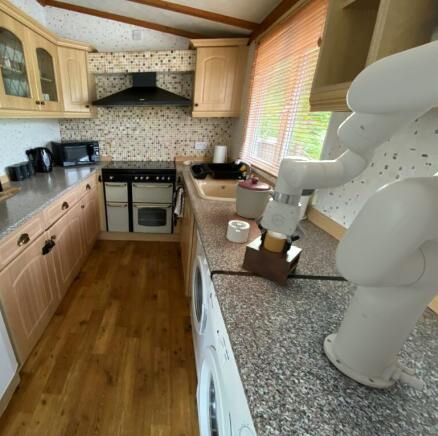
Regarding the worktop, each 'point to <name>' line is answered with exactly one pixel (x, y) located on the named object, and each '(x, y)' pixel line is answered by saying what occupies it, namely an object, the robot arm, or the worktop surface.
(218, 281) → the worktop surface
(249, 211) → the canister
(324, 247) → the worktop surface
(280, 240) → the tape roll
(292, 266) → the brown square pedestal
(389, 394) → the worktop surface
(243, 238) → the white slotted cylinder
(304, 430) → the worktop surface
